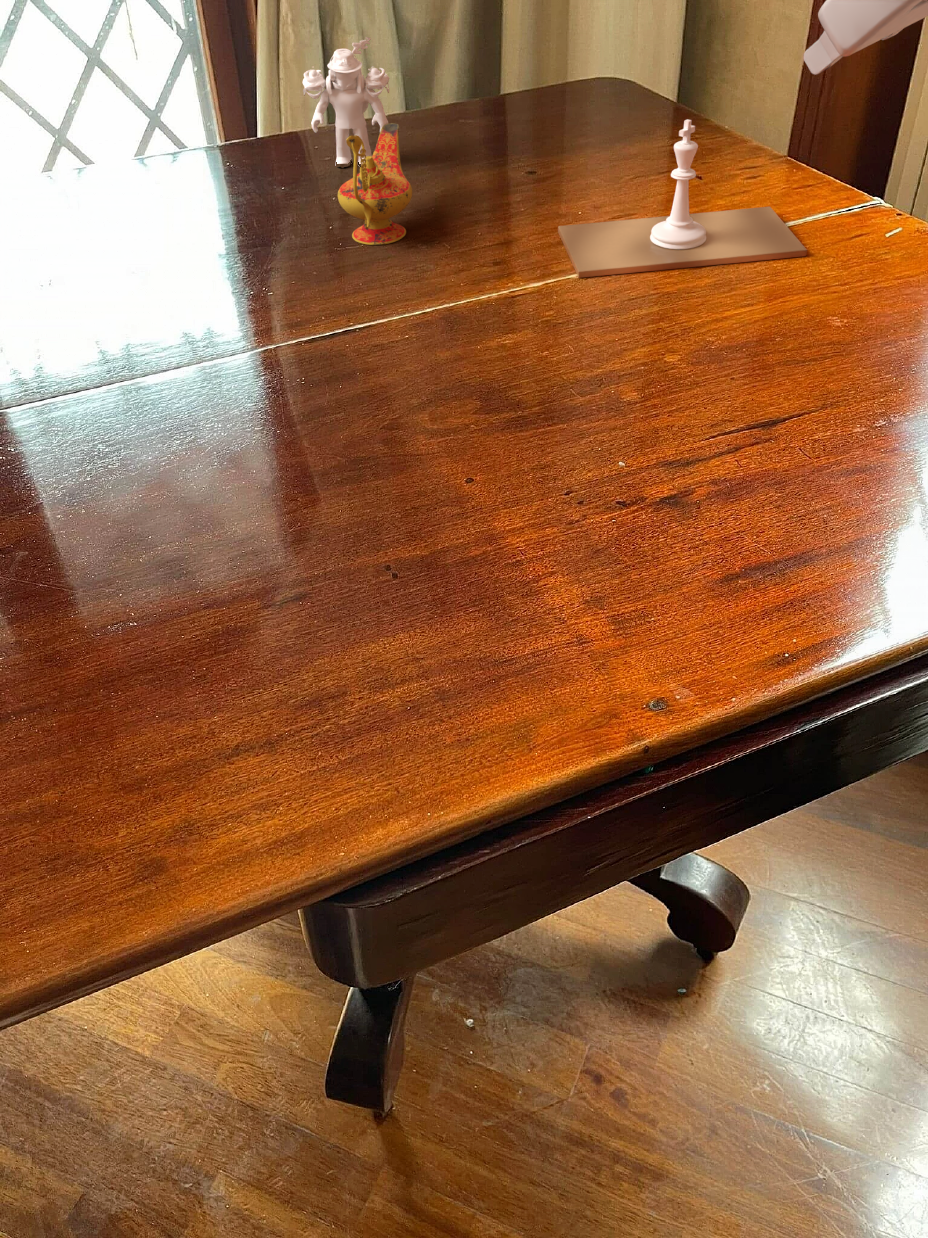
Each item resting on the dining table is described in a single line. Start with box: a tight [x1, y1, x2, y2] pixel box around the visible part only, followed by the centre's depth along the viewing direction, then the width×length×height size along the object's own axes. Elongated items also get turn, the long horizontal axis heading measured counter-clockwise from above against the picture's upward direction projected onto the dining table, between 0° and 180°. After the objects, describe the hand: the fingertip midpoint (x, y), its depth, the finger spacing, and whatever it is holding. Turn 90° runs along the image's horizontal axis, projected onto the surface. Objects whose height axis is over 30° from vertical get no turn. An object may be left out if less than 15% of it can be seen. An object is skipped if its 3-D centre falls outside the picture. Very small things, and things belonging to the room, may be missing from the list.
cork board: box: [557, 206, 808, 279], centre depth 98 cm, size 20×10×1 cm, turn 96°
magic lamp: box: [337, 122, 413, 246], centre depth 100 cm, size 7×18×11 cm, turn 173°
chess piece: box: [650, 118, 706, 249], centre depth 94 cm, size 5×5×10 cm
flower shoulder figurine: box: [302, 36, 390, 164], centre depth 113 cm, size 9×4×12 cm, turn 87°
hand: (847, 46), depth 79 cm, fingers open, 8 cm apart
